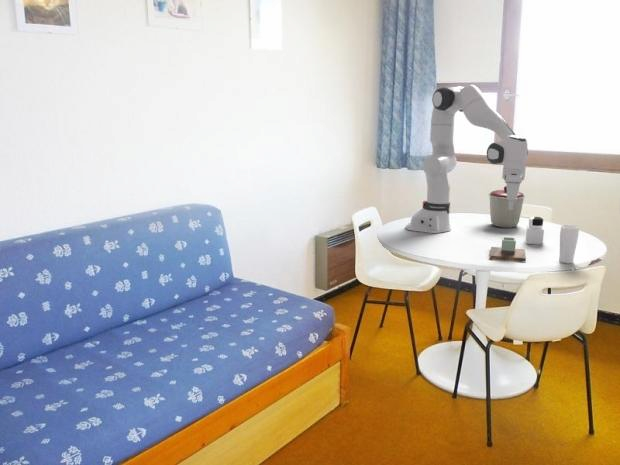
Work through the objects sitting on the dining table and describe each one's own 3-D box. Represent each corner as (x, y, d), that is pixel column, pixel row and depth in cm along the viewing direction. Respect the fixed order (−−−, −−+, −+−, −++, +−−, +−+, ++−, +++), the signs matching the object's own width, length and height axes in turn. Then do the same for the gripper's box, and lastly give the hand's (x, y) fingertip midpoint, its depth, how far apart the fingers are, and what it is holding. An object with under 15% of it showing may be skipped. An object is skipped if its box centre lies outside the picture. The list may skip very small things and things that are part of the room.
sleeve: (501, 253, 240) (502, 240, 238) (501, 250, 245) (502, 236, 243) (514, 254, 238) (515, 241, 237) (514, 251, 243) (515, 237, 242)
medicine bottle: (541, 241, 264) (544, 216, 261) (542, 245, 258) (545, 219, 255) (525, 239, 266) (527, 215, 263) (525, 243, 260) (528, 218, 257)
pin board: (490, 258, 237) (491, 244, 236) (490, 249, 250) (491, 235, 249) (525, 261, 233) (526, 246, 232) (524, 252, 246) (525, 238, 244)
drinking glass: (554, 259, 236) (557, 225, 232) (569, 259, 236) (573, 224, 233) (562, 264, 229) (566, 229, 226) (578, 264, 230) (582, 228, 226)
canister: (480, 226, 293) (483, 186, 287) (494, 220, 306) (497, 181, 300) (514, 231, 281) (518, 190, 276) (527, 225, 294) (531, 185, 289)
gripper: (505, 170, 245) (502, 201, 248) (505, 178, 226) (502, 211, 230) (520, 171, 243) (517, 202, 247) (522, 179, 224) (518, 212, 228)
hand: (510, 207), depth 238 cm, fingers open, 8 cm apart
